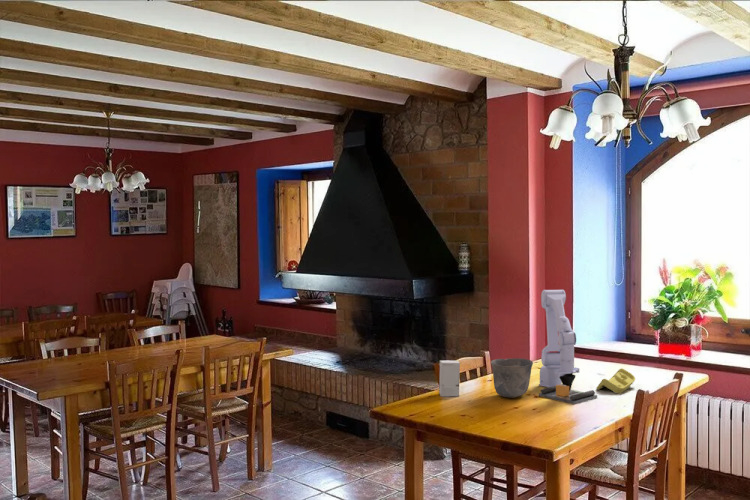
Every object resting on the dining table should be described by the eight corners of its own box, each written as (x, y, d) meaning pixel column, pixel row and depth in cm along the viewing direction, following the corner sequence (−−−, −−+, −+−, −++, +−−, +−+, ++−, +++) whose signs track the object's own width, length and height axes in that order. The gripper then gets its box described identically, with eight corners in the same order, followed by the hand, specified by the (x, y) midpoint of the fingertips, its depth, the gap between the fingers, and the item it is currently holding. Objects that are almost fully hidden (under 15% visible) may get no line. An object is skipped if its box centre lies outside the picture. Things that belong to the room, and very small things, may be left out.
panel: (538, 395, 298) (538, 392, 298) (562, 390, 308) (562, 387, 308) (574, 404, 284) (574, 401, 284) (597, 397, 294) (597, 394, 294)
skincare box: (440, 397, 298) (440, 362, 298) (439, 393, 304) (438, 359, 304) (460, 396, 299) (460, 362, 298) (458, 393, 305) (457, 359, 304)
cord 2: (568, 400, 286) (568, 395, 286) (590, 394, 295) (590, 389, 295) (573, 401, 284) (573, 396, 284) (594, 395, 293) (594, 390, 293)
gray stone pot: (502, 389, 310) (502, 356, 310) (539, 394, 300) (539, 360, 300) (484, 397, 296) (484, 362, 295) (523, 403, 286) (523, 367, 285)
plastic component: (621, 389, 299) (601, 376, 305) (614, 403, 302) (594, 390, 307) (638, 378, 314) (618, 366, 319) (632, 391, 317) (612, 379, 322)
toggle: (555, 394, 294) (555, 384, 294) (560, 393, 296) (560, 383, 296) (564, 396, 291) (564, 386, 291) (569, 395, 293) (569, 385, 293)
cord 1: (539, 393, 298) (539, 388, 298) (561, 388, 307) (561, 383, 307) (543, 394, 296) (543, 389, 296) (565, 388, 305) (565, 384, 305)
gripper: (564, 363, 287) (564, 395, 288) (585, 359, 296) (585, 390, 297) (550, 360, 293) (550, 392, 293) (571, 356, 302) (571, 387, 302)
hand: (567, 391), depth 295 cm, fingers closed
